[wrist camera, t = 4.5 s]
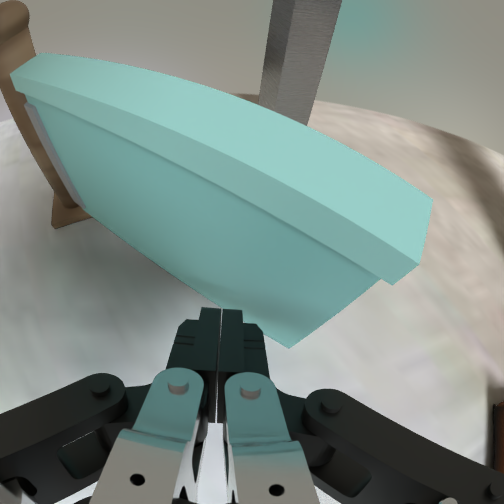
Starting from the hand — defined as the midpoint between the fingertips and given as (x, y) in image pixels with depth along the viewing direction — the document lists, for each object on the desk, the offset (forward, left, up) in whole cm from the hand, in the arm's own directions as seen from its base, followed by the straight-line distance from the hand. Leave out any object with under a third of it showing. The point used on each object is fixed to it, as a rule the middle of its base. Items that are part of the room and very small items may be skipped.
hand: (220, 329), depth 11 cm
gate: (+1, -5, -4) cm, 7 cm away
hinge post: (+8, -13, -5) cm, 15 cm away
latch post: (-9, -15, -5) cm, 18 cm away
